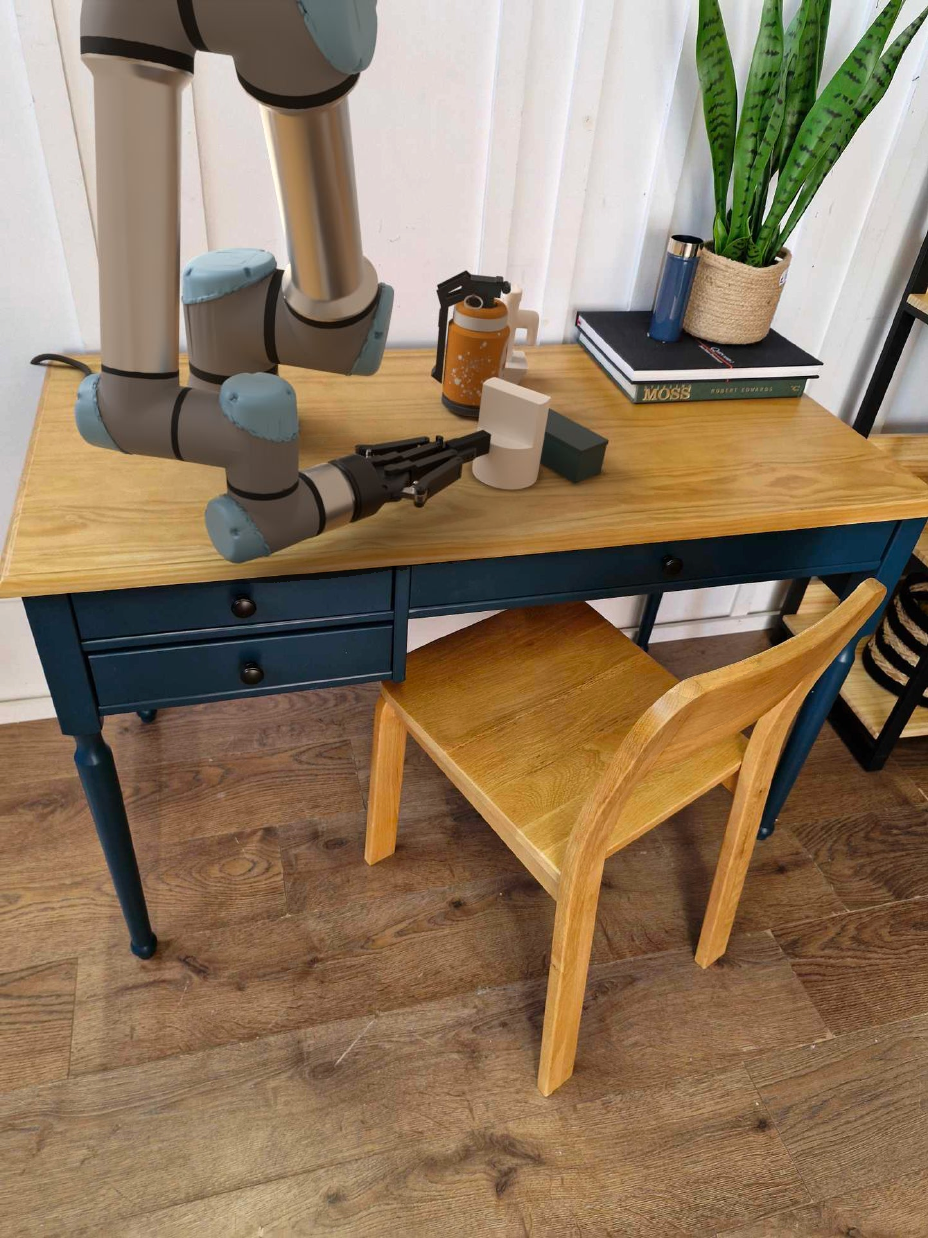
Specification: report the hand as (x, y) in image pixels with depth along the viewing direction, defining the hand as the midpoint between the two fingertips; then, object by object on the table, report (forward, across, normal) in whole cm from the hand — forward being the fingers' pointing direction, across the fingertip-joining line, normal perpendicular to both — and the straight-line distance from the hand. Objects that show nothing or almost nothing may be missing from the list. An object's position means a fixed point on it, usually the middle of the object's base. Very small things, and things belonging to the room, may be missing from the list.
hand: (485, 441), depth 119 cm
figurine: (+25, -22, -6) cm, 34 cm away
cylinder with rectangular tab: (+5, 0, -6) cm, 8 cm away
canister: (+13, -18, -6) cm, 23 cm away
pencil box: (+14, 0, -6) cm, 15 cm away
